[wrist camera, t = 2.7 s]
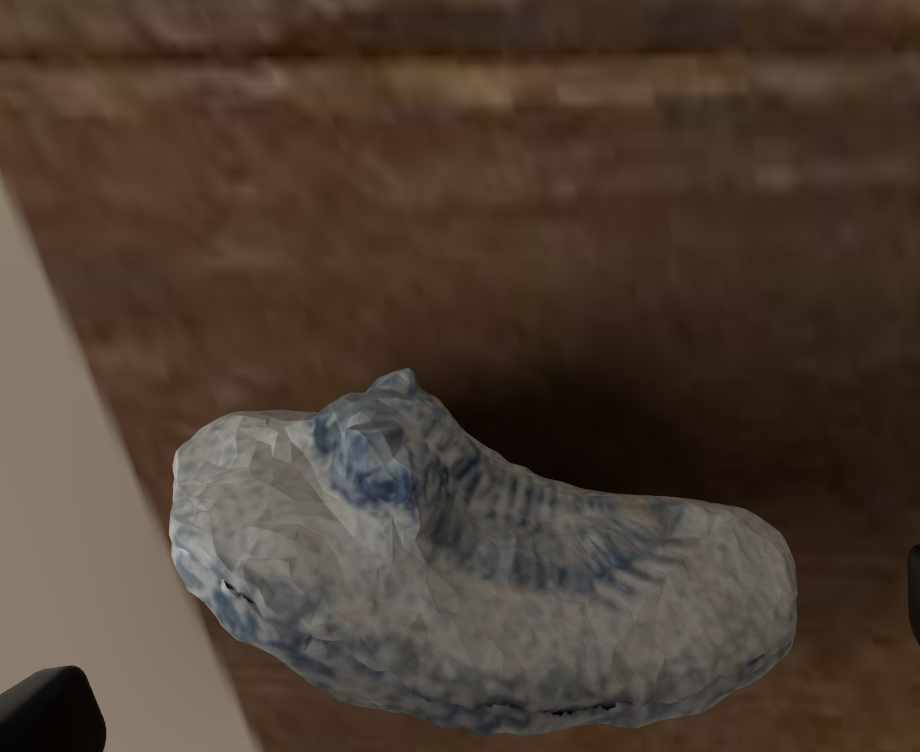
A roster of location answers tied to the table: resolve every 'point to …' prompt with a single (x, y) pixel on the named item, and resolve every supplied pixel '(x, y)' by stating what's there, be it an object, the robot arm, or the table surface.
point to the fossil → (470, 571)
